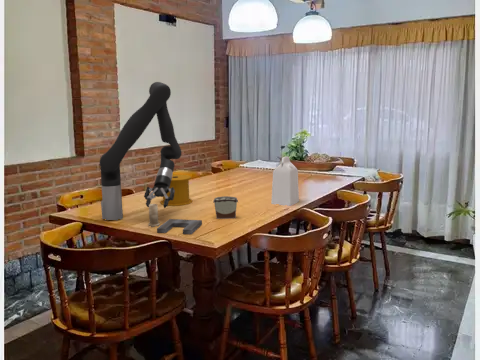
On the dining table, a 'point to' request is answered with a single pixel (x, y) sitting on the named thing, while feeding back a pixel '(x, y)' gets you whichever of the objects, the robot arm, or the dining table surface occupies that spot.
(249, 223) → the dining table surface
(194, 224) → the notched board
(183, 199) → the spool
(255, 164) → the dining table surface
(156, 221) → the bobbin
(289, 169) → the milk
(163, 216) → the dining table surface
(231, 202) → the food container
